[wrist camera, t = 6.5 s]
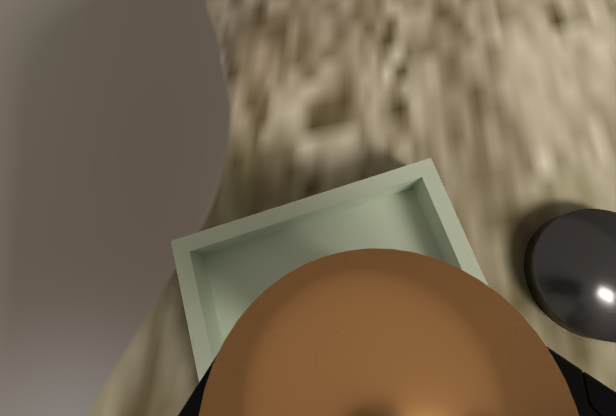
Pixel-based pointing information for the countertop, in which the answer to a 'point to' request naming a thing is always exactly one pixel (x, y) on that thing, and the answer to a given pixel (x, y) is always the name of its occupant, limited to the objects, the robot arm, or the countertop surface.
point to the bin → (311, 245)
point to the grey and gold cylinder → (383, 346)
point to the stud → (576, 272)
